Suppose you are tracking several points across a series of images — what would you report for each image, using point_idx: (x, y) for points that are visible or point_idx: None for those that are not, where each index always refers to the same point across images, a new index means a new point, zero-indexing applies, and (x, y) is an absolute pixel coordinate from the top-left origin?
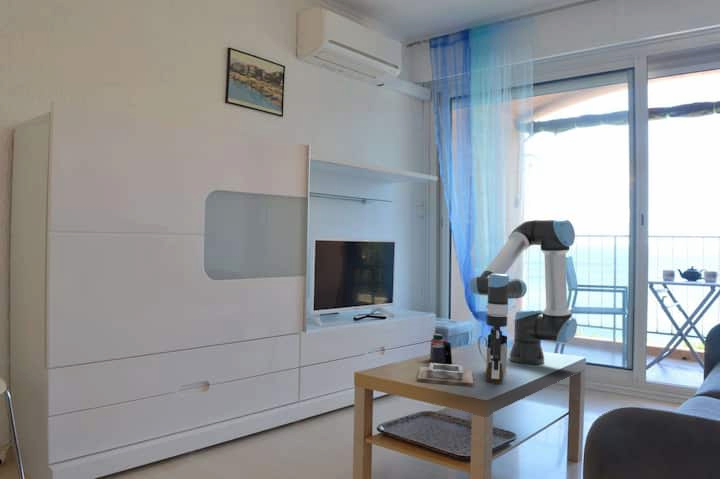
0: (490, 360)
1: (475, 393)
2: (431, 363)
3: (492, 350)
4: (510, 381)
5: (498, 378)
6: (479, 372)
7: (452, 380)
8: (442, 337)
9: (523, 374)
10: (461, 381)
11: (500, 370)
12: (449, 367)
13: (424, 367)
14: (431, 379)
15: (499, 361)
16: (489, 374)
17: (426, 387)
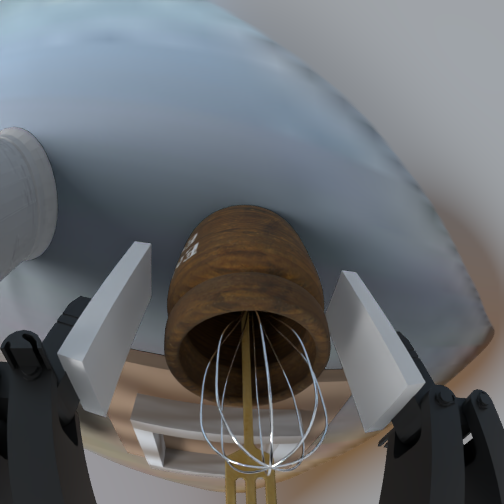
0: (119, 374)
1: (437, 358)
2: (157, 467)
3: (84, 468)
4: (198, 122)
5: (355, 278)
6: (36, 288)
7: (314, 428)
8: None
9: (9, 35)
10: (330, 410)
11: (318, 284)
12: (158, 440)
13: (135, 451)
14: (300, 455)
15: (422, 383)
16: (284, 333)
17: (349, 445)
